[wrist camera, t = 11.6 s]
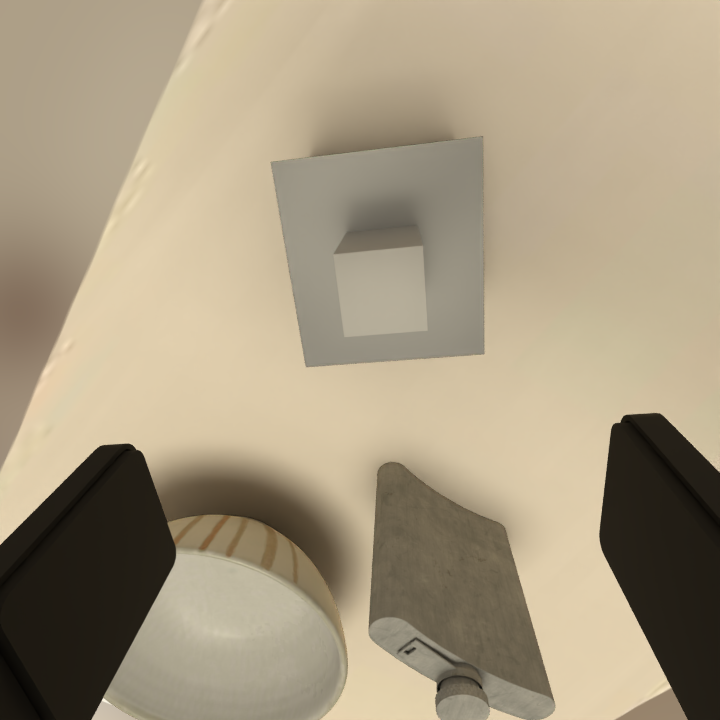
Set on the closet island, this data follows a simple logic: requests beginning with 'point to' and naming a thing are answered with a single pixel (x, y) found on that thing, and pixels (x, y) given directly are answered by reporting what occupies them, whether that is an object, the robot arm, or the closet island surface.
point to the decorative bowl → (235, 631)
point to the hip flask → (453, 603)
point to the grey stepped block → (386, 251)
